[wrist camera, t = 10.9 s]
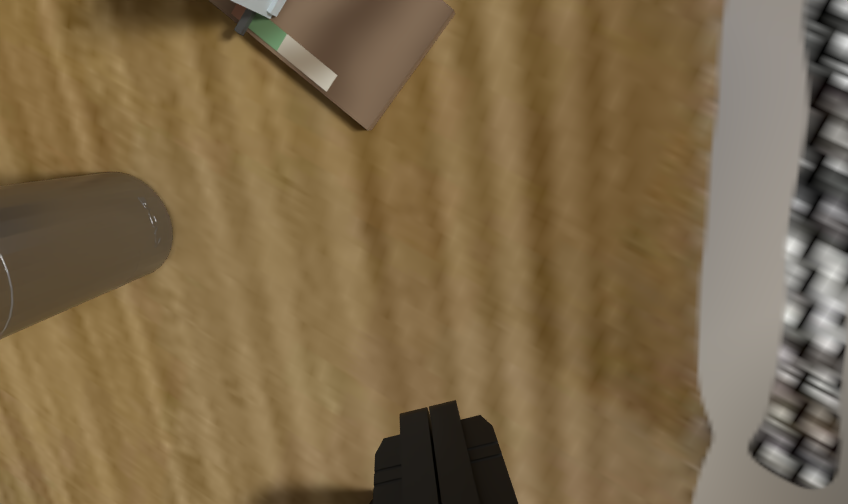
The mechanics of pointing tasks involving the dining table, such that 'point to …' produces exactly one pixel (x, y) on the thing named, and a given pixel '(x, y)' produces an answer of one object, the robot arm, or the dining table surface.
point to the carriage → (257, 11)
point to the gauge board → (351, 46)
